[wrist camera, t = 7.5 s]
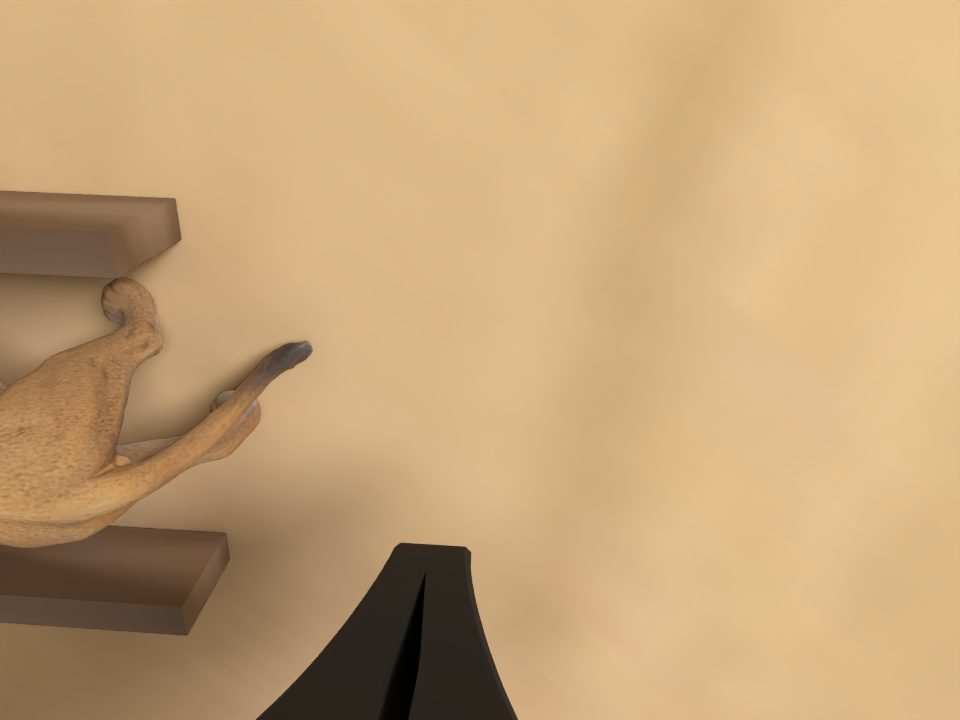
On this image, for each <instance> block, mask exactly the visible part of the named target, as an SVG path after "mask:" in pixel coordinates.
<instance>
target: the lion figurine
mask: <svg viewBox="0 0 960 720" xmlns="http://www.w3.org/2000/svg"><path fill="white" fill-rule="evenodd" d="M102 306H103V310H104V314H105V316H106V317H107V318H108V319H109V320H111V321H113V322H116V323H119V324H122V326H121V327H120V328H119V329H118V330H117V331H115V332H114V333H112V334H110V335H107V336H104V337H101V338H99V339H96V340H93V341H90V342H87V343H85V344H82V345H79V346H77V347H74V348H71V349H68V350H65V351H62V352H60V353H57V354H55V355H53V356H51V357H50V358H48V359H47V360H45V361H44V362H43V363H42V364H41V365H40V366H39V367H38V368H37V369H36V370H34V371H33V372H31V373H30V374H28V375H26V376H25V377H23V378H21V379H20V380H18V381H16V382H14V383H13V384H12V385H11V386H9V387H7V386H6V385H5V384H3V383H2V382H1V381H0V544H1V545H7V546H13V547H20V548H35V547H43V546H49V545H56V544H63V543H69V542H74V541H78V540H83V539H86V538H87V537H89V536H91V535H93V534H94V533H96V532H98V531H100V530H102V529H103V528H105V527H106V526H108V525H110V524H111V523H112V522H113V521H115V520H116V519H117V518H118V517H119V516H121V515H122V514H123V513H124V512H125V511H127V510H128V509H129V508H130V507H131V506H132V505H133V504H135V503H136V502H137V501H138V500H139V499H141V498H143V497H145V496H147V495H149V494H150V493H152V492H154V491H156V490H157V489H159V488H160V487H162V486H163V485H165V484H166V483H168V482H170V481H171V480H172V479H174V478H175V477H176V476H178V475H179V474H181V473H182V472H183V471H185V470H187V469H189V468H191V467H193V466H195V465H198V464H200V463H204V462H209V461H214V460H219V459H222V458H225V457H227V456H229V455H230V454H232V453H233V452H234V451H235V450H236V449H237V448H238V447H239V446H240V444H241V443H242V442H243V441H244V440H245V438H246V437H247V436H248V435H249V434H250V433H251V432H252V431H253V430H254V429H255V428H256V426H257V425H258V423H259V422H260V418H261V410H260V406H259V403H258V402H257V400H256V398H257V397H258V396H259V395H260V394H261V393H262V392H263V390H264V389H265V388H266V387H267V385H268V384H269V383H270V382H271V381H272V380H274V379H275V378H276V377H277V376H279V375H280V374H281V373H283V372H284V371H286V370H289V369H292V368H294V367H295V366H296V365H297V364H299V363H300V362H302V361H304V360H306V359H307V358H308V357H309V356H310V355H311V353H312V351H313V350H312V346H311V344H310V343H309V342H308V341H304V342H300V343H287V344H285V345H283V346H281V347H280V348H278V349H276V350H274V351H272V352H271V353H270V354H269V355H267V356H266V357H265V358H264V359H263V360H262V361H261V362H260V363H259V365H258V366H257V367H256V368H255V369H254V370H253V371H252V372H251V373H250V374H249V375H248V376H247V378H246V379H245V380H244V381H243V382H242V383H241V385H240V386H239V387H238V388H237V389H236V390H227V391H225V392H223V393H221V394H220V395H219V396H218V397H217V398H216V400H215V402H214V403H213V405H212V406H211V410H210V412H211V414H210V415H209V416H208V417H206V418H205V419H204V420H203V421H202V422H201V423H200V424H198V425H197V426H196V427H194V428H193V429H192V430H190V431H189V432H188V433H186V434H185V435H182V436H176V437H170V438H164V439H154V440H148V441H141V442H133V443H127V444H121V445H116V444H117V440H118V437H119V433H120V430H121V426H122V423H123V418H124V410H125V407H126V404H127V399H128V394H129V386H130V382H131V377H132V374H133V372H134V370H135V369H136V368H137V367H138V366H139V364H140V363H142V362H143V361H145V360H146V359H148V358H150V357H152V356H154V355H156V354H158V353H159V352H160V351H161V350H162V347H163V338H162V334H161V332H160V328H159V324H158V320H157V314H156V309H155V304H154V301H153V299H152V297H151V296H150V294H149V293H148V292H147V291H146V290H145V289H144V288H143V287H142V286H141V285H139V284H138V283H136V282H134V281H132V280H129V279H125V278H118V279H116V280H114V281H112V282H111V283H109V284H108V285H106V286H105V287H104V290H103V295H102Z"/></svg>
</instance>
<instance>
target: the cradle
mask: <svg viewBox="0 0 960 720" xmlns="http://www.w3.org/2000/svg"><path fill="white" fill-rule="evenodd" d="M179 240H181V234H180V227H179V221H178V214H177V207H176V201H175V199H173V198H151V197H128V196H106V195H83V194H61V193H38V192H16V191H0V273H16V274H36V275H57V276H77V277H97V278H117V279H118V278H120V277H121V276H123V275H125V274H126V273H128V272H129V271H131V270H133V269H134V268H136V267H138V266H139V265H141V264H142V263H144V262H146V261H147V260H149V259H150V258H152V257H154V256H155V255H157V254H159V253H160V252H162V251H163V250H165V249H167V248H168V247H170V246H171V245H173V244H175V243H176V242H178V241H179ZM229 560H230V559H229V552H228V546H227V539H226V533H213V532H197V531H181V530H166V529H150V528H134V527H119V526H106V527H105V528H103V529H102V530H100V531H98V532H96V533H94V534H93V535H91V536H89V537H87V538H86V539H83V540H78V541H74V542H69V543H63V544H56V545H49V546H43V547H35V548H20V547H13V546H7V545H1V544H0V622H1V623H15V624H29V625H44V626H58V627H72V628H87V629H101V630H115V631H129V632H144V633H158V634H172V635H188V633H189V632H190V630H191V628H192V626H193V624H194V623H195V621H196V619H197V617H198V616H199V614H200V612H201V610H202V608H203V607H204V605H205V603H206V601H207V599H208V598H209V596H210V594H211V592H212V590H213V589H214V587H215V585H216V583H217V581H218V580H219V578H220V576H221V574H222V572H223V571H224V569H225V567H226V565H227V563H228V562H229Z"/></svg>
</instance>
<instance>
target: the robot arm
mask: <svg viewBox="0 0 960 720" xmlns="http://www.w3.org/2000/svg"><path fill="white" fill-rule="evenodd" d="M256 720H518V719H517V716H516V714H515V712H514V710H513V708H512V705H511V703H510V701H509V699H508V697H507V694H506V692H505V689H504V687H503V685H502V682H501V680H500V677H499V674H498V672H497V669H496V666H495V664H494V661H493V658H492V655H491V653H490V650H489V646H488V643H487V640H486V637H485V634H484V630H483V627H482V623H481V620H480V616H479V612H478V608H477V604H476V600H475V595H474V589H473V584H472V577H471V552H470V551H469V550H468V549H467V548H466V547H461V546H445V545H429V544H413V543H400V544H398V545H397V546H396V547H395V548H394V550H393V552H392V554H391V555H390V557H389V559H388V561H387V562H386V564H385V566H384V567H383V569H382V571H381V572H380V574H379V575H378V577H377V579H376V580H375V582H374V583H373V585H372V586H371V588H370V589H369V591H368V592H367V594H366V595H365V596H364V598H363V599H362V601H361V602H360V603H359V605H358V606H357V607H356V609H355V610H354V612H353V613H352V614H351V616H350V617H349V618H348V620H347V621H346V622H345V624H344V625H343V626H342V628H341V629H340V630H339V631H338V633H337V634H336V635H335V636H334V637H333V639H332V640H331V641H330V642H329V643H328V645H327V646H326V647H325V648H324V650H323V651H322V652H321V653H320V654H319V656H318V657H317V658H316V659H315V660H314V661H313V662H312V664H311V665H310V666H309V667H308V668H307V669H306V670H305V671H304V672H303V673H302V675H301V676H300V677H299V678H298V679H297V680H296V681H295V682H294V683H293V684H292V685H291V686H290V687H289V688H288V689H287V690H286V691H285V692H284V693H283V694H282V695H281V696H280V697H279V698H278V699H277V700H276V701H275V702H274V703H273V704H272V705H271V706H270V707H269V708H268V709H267V710H265V711H264V712H263V713H262V714H261V715H260V716H259V717H258V718H257V719H256Z"/></svg>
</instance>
